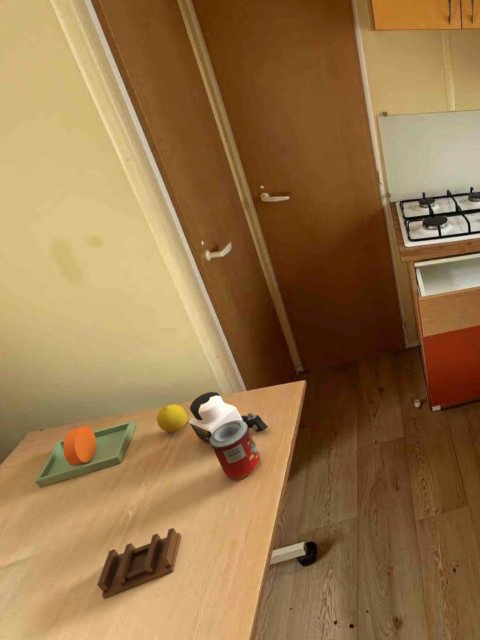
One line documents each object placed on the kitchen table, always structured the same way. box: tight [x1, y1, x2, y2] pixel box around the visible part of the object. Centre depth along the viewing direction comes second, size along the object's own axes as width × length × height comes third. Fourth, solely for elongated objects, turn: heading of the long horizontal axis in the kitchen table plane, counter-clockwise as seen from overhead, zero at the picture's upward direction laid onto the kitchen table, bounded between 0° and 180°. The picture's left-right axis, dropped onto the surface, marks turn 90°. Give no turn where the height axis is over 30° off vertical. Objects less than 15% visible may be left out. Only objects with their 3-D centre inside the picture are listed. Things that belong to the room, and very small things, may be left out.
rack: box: [96, 527, 182, 599], centre depth 77 cm, size 10×7×4 cm
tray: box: [34, 420, 136, 488], centre depth 98 cm, size 14×11×2 cm
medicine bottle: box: [188, 391, 242, 446], centre depth 101 cm, size 7×7×12 cm
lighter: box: [240, 412, 269, 433], centre depth 104 cm, size 8×2×5 cm
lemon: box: [156, 403, 188, 433], centre depth 103 cm, size 6×6×8 cm
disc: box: [63, 426, 96, 466], centre depth 96 cm, size 2×8×8 cm, turn 25°
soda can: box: [209, 420, 261, 480], centre depth 93 cm, size 7×7×12 cm
